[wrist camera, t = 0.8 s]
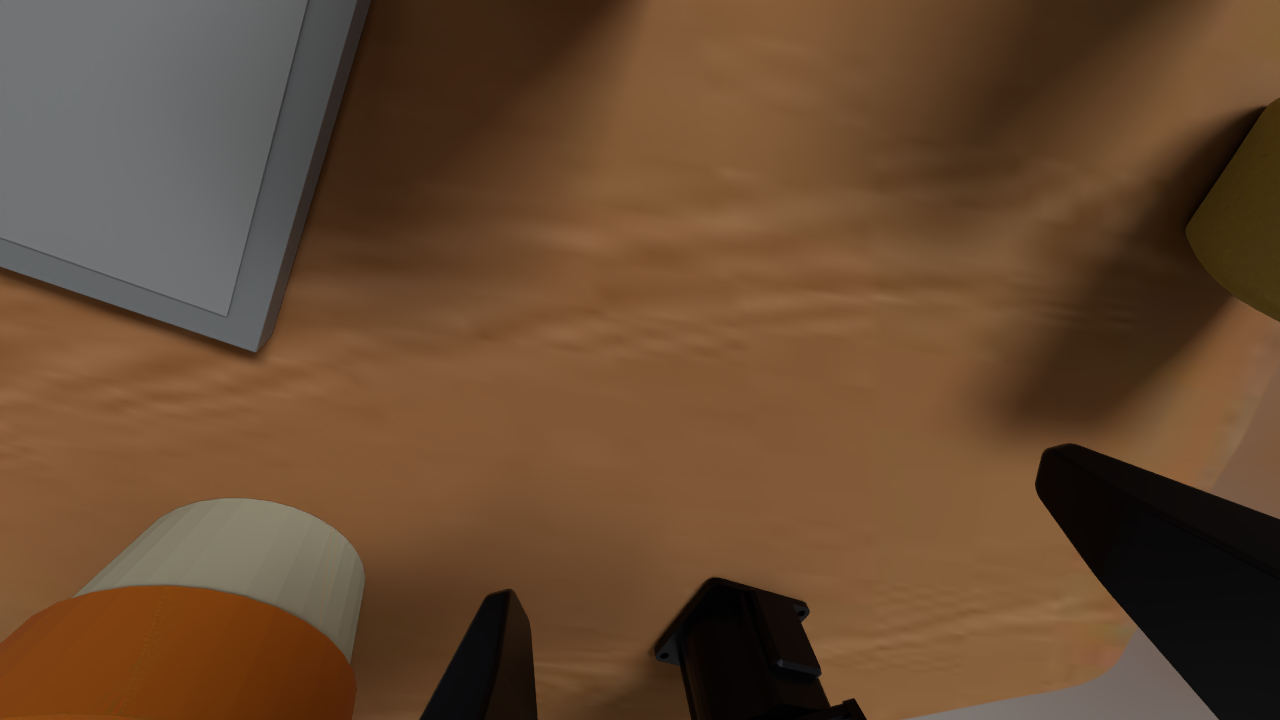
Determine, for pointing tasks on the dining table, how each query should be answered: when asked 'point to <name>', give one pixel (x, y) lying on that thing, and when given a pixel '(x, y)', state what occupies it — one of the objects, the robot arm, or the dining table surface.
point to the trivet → (169, 149)
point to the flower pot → (1245, 219)
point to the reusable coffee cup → (199, 625)
